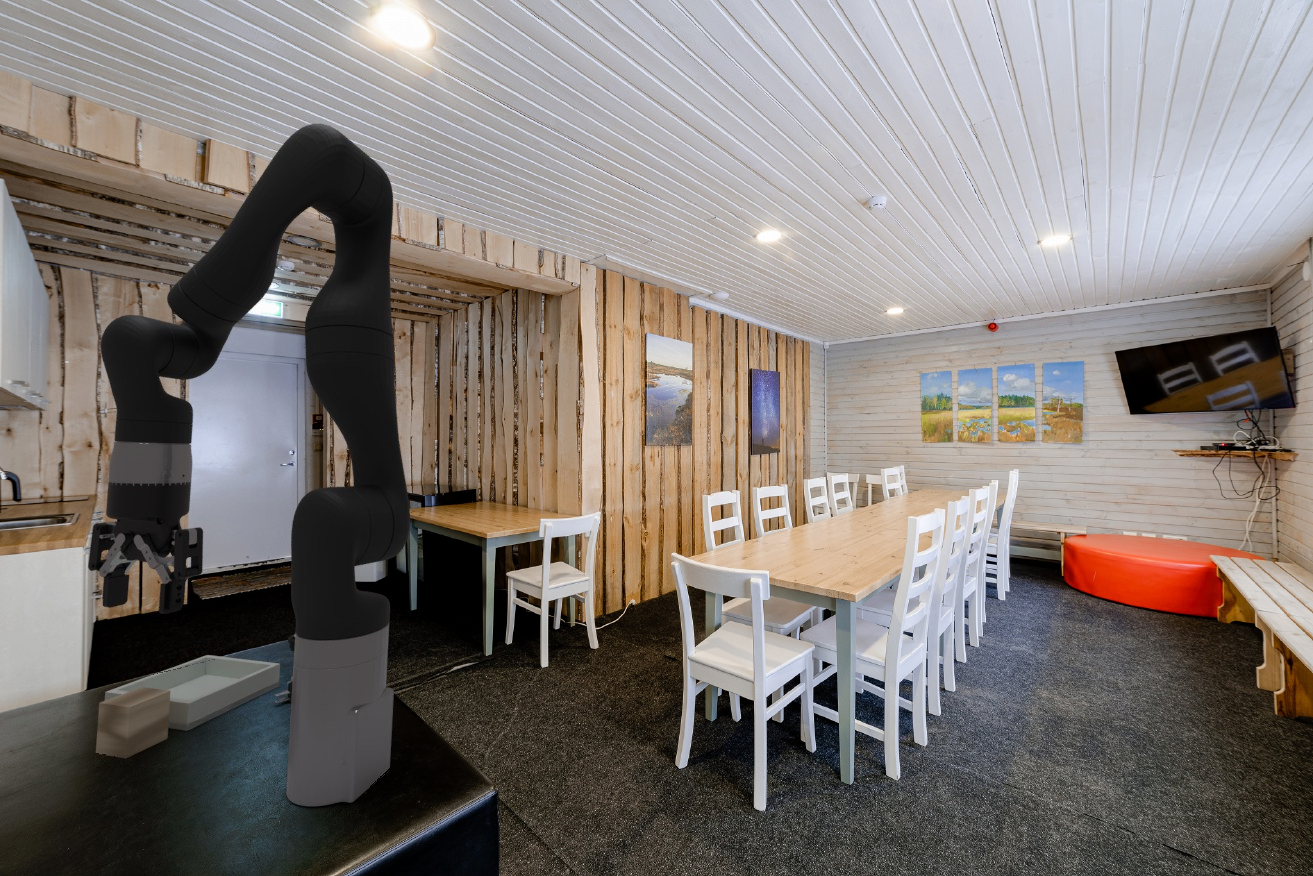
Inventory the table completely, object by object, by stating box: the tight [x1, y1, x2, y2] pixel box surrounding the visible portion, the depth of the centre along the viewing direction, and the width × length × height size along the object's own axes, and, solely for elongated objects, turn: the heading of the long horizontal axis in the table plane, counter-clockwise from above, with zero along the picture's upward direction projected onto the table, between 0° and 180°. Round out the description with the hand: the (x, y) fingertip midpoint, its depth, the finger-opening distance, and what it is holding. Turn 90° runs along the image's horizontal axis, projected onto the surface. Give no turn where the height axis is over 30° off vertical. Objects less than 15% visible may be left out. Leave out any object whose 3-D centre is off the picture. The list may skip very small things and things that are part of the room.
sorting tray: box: [104, 654, 281, 732], centre depth 76 cm, size 14×14×4 cm
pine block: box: [95, 687, 171, 759], centre depth 65 cm, size 4×4×6 cm
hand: (142, 608), depth 66 cm, fingers open, 8 cm apart
